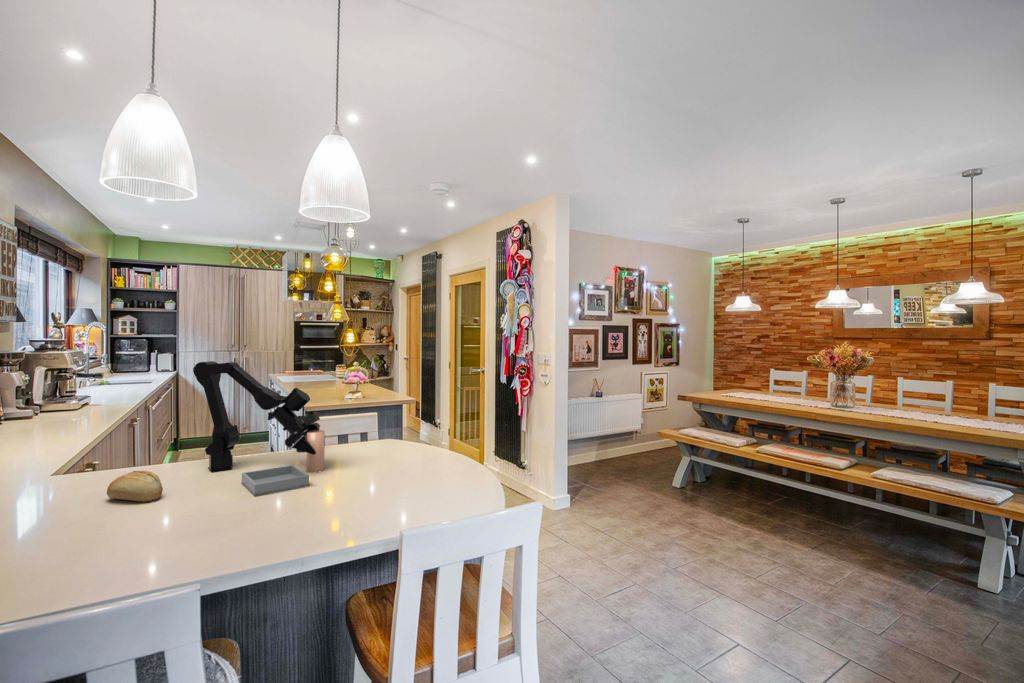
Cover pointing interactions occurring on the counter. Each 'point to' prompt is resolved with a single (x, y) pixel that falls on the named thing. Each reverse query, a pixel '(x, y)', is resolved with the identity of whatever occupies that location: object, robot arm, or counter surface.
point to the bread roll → (136, 487)
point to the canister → (318, 443)
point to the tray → (274, 480)
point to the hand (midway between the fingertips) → (319, 450)
